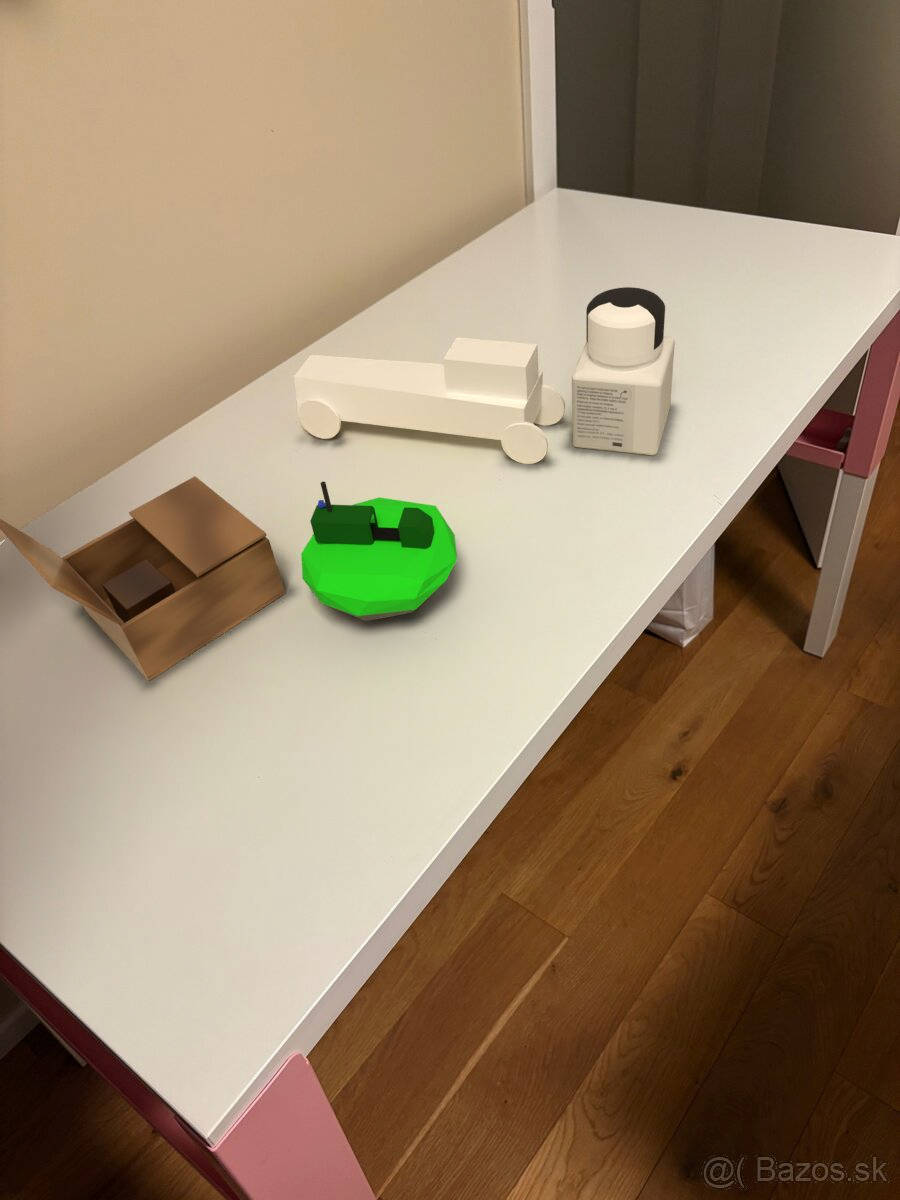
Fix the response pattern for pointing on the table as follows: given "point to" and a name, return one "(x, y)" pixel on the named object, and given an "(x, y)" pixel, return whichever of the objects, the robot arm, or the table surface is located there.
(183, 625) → the carton
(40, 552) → the flap
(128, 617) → the block
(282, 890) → the table surface
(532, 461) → the toy truck
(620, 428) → the container
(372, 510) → the green domed toy
